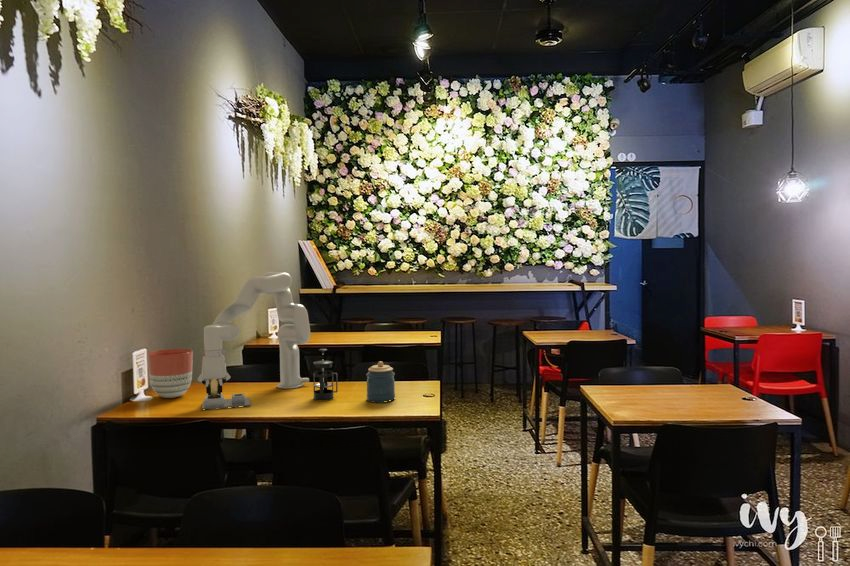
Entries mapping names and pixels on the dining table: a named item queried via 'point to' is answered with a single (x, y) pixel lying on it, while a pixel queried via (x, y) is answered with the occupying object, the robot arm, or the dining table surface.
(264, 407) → the dining table surface
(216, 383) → the tan cylinder
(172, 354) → the planter
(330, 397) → the french press
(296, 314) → the robot arm
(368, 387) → the canister
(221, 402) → the manifold
